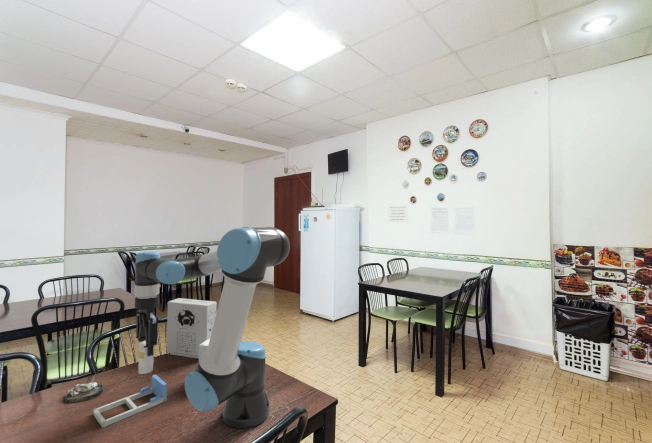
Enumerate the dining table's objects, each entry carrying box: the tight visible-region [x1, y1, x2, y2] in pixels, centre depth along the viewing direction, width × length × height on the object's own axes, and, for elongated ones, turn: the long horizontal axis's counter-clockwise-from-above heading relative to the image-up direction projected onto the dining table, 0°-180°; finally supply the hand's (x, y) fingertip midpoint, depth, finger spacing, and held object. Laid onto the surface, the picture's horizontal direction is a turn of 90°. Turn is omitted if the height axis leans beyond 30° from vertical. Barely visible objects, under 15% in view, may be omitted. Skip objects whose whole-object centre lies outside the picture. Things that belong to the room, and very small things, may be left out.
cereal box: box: [166, 297, 217, 360], centre depth 148 cm, size 22×8×25 cm, turn 76°
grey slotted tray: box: [92, 374, 168, 429], centre depth 106 cm, size 19×10×6 cm, turn 140°
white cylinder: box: [137, 340, 154, 375], centre depth 109 cm, size 5×5×10 cm
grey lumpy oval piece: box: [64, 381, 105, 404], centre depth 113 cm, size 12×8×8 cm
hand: (145, 361), depth 109 cm, fingers closed on white cylinder, 5 cm apart
